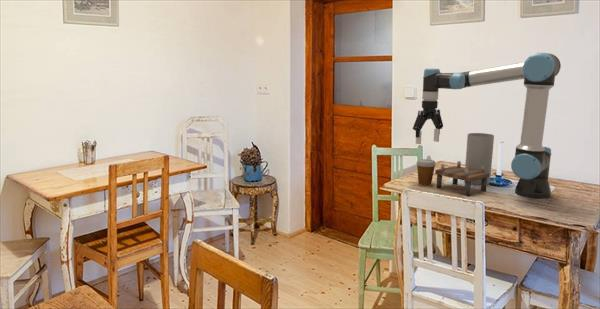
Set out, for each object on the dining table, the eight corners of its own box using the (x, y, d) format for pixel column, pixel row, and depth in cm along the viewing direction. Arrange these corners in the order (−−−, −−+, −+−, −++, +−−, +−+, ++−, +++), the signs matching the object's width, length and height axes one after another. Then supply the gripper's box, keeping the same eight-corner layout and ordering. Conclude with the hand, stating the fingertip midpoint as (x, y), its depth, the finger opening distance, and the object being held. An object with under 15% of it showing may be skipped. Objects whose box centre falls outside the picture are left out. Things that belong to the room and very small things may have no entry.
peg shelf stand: (487, 191, 227) (490, 166, 225) (468, 196, 218) (470, 171, 216) (454, 183, 242) (455, 160, 240) (434, 187, 233) (435, 163, 231)
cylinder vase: (462, 184, 241) (465, 135, 236) (466, 178, 251) (469, 132, 247) (488, 187, 235) (492, 137, 230) (491, 181, 246) (495, 134, 241)
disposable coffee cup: (436, 186, 235) (438, 163, 233) (417, 186, 236) (418, 162, 233) (431, 181, 245) (433, 159, 242) (413, 181, 245) (414, 159, 243)
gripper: (440, 98, 243) (437, 139, 247) (406, 100, 229) (404, 143, 233) (452, 99, 237) (449, 141, 241) (418, 101, 223) (416, 146, 227)
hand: (427, 142), depth 237 cm, fingers open, 13 cm apart
